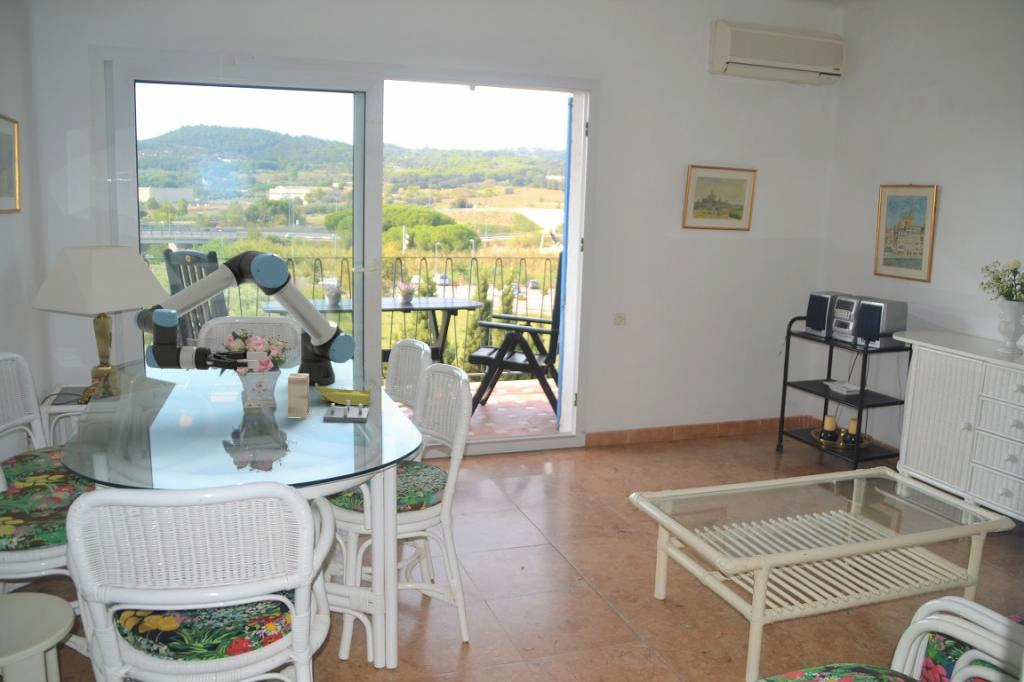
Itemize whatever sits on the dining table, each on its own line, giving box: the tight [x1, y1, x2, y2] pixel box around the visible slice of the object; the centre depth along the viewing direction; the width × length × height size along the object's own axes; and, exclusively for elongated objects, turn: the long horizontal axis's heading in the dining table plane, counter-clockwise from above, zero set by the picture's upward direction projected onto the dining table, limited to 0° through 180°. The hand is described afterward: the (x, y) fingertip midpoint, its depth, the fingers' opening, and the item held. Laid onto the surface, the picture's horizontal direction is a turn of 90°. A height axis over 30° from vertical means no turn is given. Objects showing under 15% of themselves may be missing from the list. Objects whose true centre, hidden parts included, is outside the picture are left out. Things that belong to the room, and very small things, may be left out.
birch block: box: [287, 372, 310, 419], centre depth 274 cm, size 6×6×14 cm
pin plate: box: [323, 400, 370, 423], centre depth 277 cm, size 12×14×4 cm
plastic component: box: [314, 383, 372, 407], centre depth 296 cm, size 20×7×10 cm
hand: (262, 360), depth 271 cm, fingers open, 13 cm apart
